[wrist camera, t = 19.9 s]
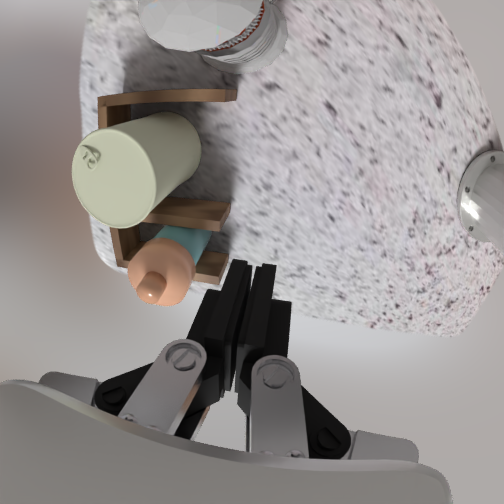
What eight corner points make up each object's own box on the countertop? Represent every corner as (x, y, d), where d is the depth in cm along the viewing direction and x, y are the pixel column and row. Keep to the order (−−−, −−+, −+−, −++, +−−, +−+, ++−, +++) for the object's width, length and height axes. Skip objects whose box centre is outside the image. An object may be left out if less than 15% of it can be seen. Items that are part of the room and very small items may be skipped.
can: (165, 95, 28) (100, 105, 17) (218, 152, 30) (176, 187, 20) (119, 149, 32) (55, 181, 22) (166, 200, 35) (116, 249, 24)
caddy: (236, 89, 26) (225, 89, 22) (228, 261, 38) (218, 284, 34) (122, 93, 28) (97, 96, 23) (134, 246, 39) (117, 266, 35)
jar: (212, 211, 34) (190, 244, 28) (211, 250, 37) (192, 288, 31) (169, 206, 35) (140, 237, 28) (172, 244, 38) (146, 280, 31)
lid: (195, 242, 28) (176, 272, 23) (196, 293, 31) (181, 325, 27) (137, 233, 28) (112, 259, 24) (144, 282, 31) (124, 310, 27)
